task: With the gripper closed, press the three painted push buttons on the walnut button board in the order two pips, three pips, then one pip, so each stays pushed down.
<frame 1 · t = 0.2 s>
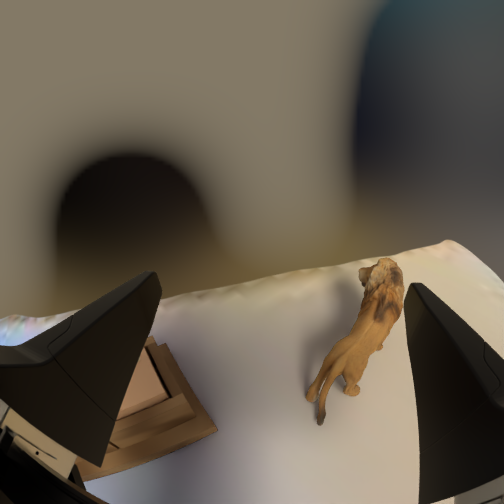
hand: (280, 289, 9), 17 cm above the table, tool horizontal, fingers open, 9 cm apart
button board: (83, 432, 17), on the table
lion figurine: (349, 361, 24), on the table
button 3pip: (128, 384, 18), point 5 cm above the table, slide at 0.0 cm
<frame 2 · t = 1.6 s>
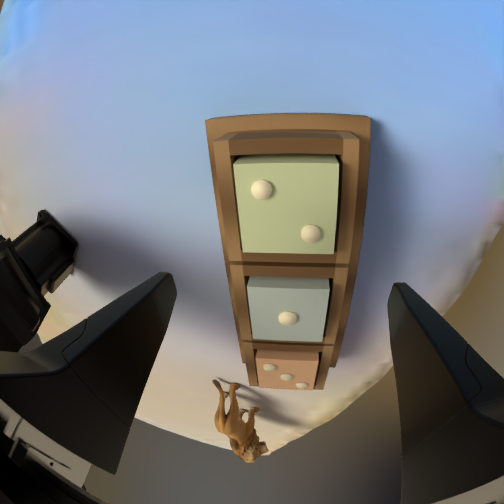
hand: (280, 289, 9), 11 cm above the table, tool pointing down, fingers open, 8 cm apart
button board: (291, 267, 22), on the table
lion figurine: (244, 400, 37), on the table
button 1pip: (288, 307, 18), point 5 cm above the table, slide at 0.0 cm
button 2pip: (288, 204, 14), point 5 cm above the table, slide at 0.0 cm
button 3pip: (287, 367, 22), point 5 cm above the table, slide at 0.0 cm
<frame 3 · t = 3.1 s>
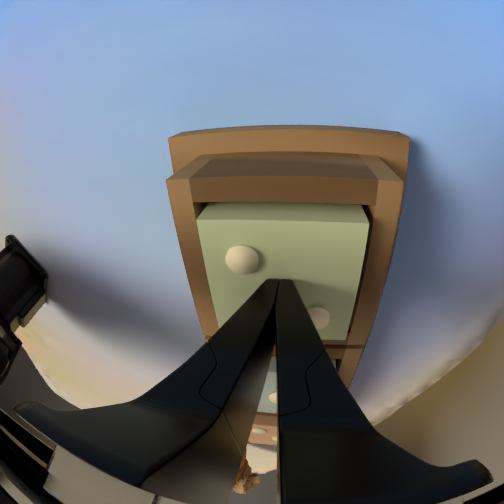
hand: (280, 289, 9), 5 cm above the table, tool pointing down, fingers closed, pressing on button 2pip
button board: (289, 322, 17), on the table
lion figurine: (235, 431, 32), on the table
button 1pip: (282, 382, 14), point 5 cm above the table, slide at 0.0 cm
button 2pip: (284, 272, 10), point 5 cm above the table, slide at 0.1 cm, touching gripper
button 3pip: (280, 427, 18), point 5 cm above the table, slide at 0.0 cm
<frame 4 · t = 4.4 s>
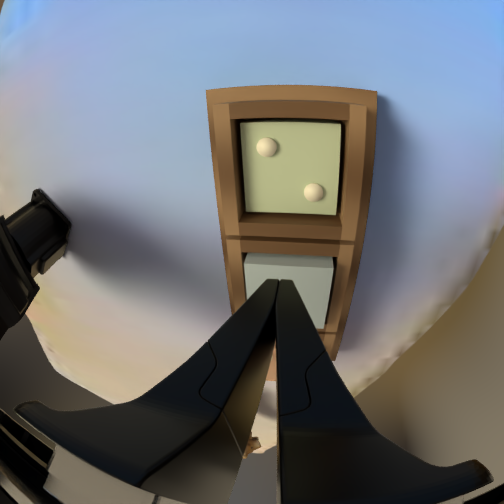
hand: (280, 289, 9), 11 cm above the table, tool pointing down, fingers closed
button board: (292, 250, 21), on the table
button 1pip: (288, 289, 17), point 5 cm above the table, slide at 0.0 cm
button 2pip: (291, 164, 14), point 3 cm above the table, slide at 1.5 cm
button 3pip: (285, 358, 21), point 5 cm above the table, slide at 0.0 cm
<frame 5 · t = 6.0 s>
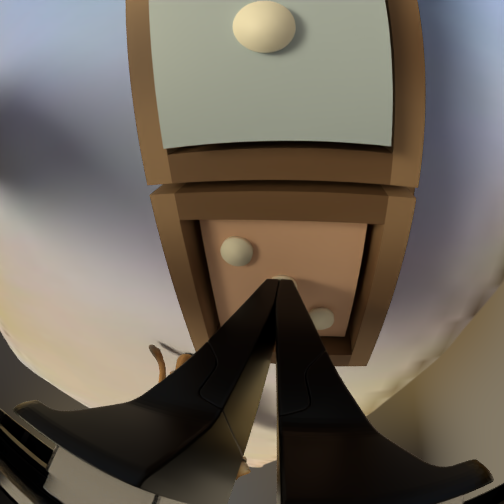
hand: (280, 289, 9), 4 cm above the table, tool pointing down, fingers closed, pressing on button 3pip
button board: (283, 58, 8), on the table
lion figurine: (211, 389, 23), on the table
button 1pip: (270, 35, 5), point 5 cm above the table, slide at 0.0 cm
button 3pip: (284, 270, 10), point 3 cm above the table, slide at 1.4 cm, touching gripper
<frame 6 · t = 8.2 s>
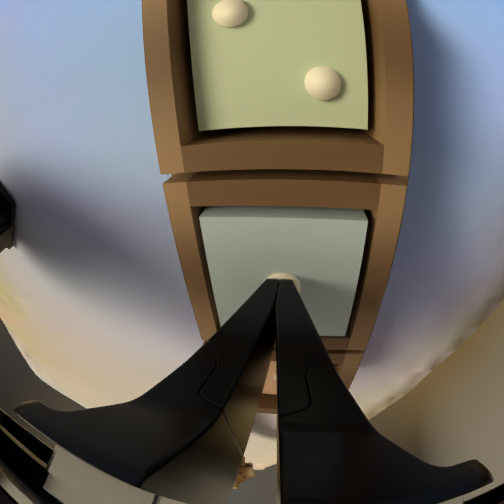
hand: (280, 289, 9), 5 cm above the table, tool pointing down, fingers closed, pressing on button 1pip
button board: (290, 219, 13), on the table
lion figurine: (223, 409, 28), on the table
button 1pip: (284, 269, 10), point 4 cm above the table, slide at 0.6 cm, touching gripper
button 2pip: (279, 49, 7), point 3 cm above the table, slide at 1.5 cm
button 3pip: (284, 362, 15), point 3 cm above the table, slide at 1.6 cm
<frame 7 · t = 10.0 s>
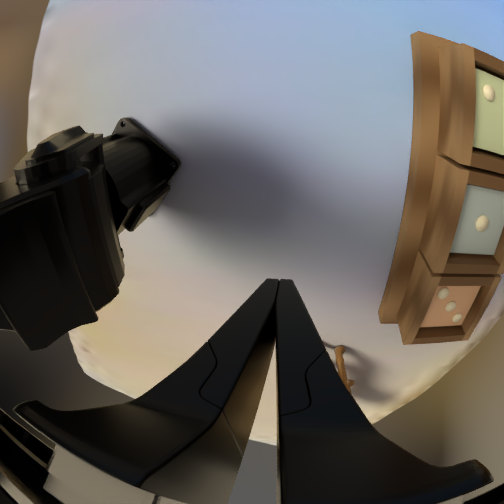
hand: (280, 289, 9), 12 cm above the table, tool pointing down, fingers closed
button board: (458, 200, 17), on the table
lion figurine: (340, 372, 31), on the table
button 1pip: (475, 216, 14), point 3 cm above the table, slide at 1.6 cm
button 2pip: (492, 113, 10), point 3 cm above the table, slide at 1.5 cm
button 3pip: (447, 298, 18), point 3 cm above the table, slide at 1.6 cm
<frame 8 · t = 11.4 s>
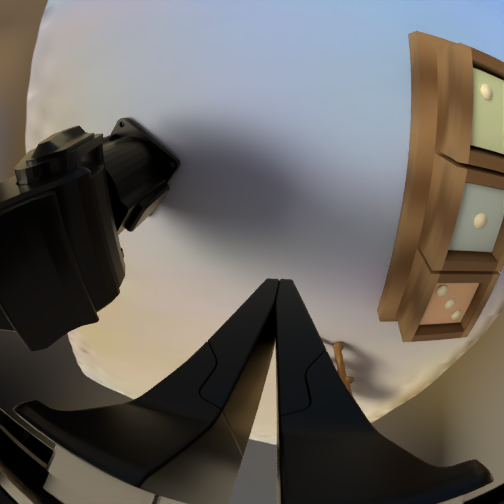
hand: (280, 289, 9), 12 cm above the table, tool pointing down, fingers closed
button board: (456, 198, 17), on the table
lion figurine: (339, 369, 31), on the table
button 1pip: (473, 214, 14), point 3 cm above the table, slide at 1.6 cm
button 2pip: (490, 112, 10), point 3 cm above the table, slide at 1.5 cm
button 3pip: (445, 295, 18), point 3 cm above the table, slide at 1.6 cm
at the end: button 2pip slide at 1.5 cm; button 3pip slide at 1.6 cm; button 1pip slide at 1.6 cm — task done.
